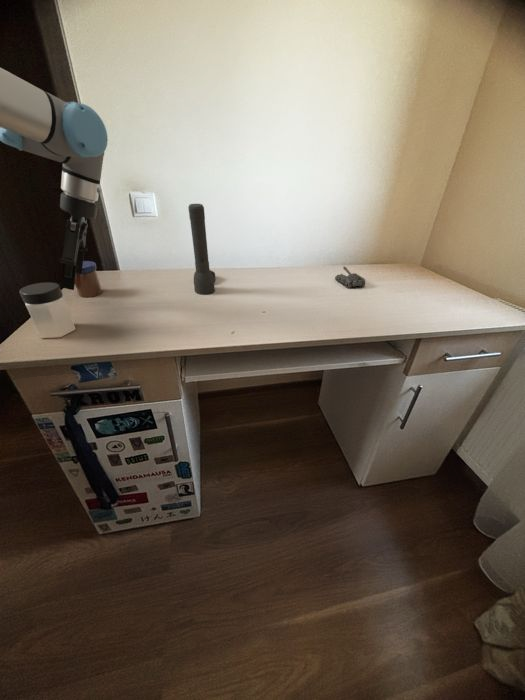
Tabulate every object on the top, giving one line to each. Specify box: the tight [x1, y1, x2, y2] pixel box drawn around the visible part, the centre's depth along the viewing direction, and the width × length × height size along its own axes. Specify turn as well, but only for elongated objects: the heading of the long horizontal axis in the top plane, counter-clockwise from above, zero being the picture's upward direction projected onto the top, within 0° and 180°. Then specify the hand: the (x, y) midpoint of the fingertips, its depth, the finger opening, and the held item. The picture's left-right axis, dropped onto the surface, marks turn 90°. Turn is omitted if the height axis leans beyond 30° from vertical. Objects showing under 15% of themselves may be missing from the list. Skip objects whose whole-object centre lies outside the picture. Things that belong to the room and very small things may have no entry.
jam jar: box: [74, 269, 103, 298], centre depth 94 cm, size 7×7×9 cm
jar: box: [18, 281, 76, 339], centre depth 72 cm, size 9×8×12 cm
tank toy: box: [334, 266, 366, 289], centre depth 113 cm, size 12×10×5 cm
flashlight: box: [187, 203, 215, 296], centre depth 93 cm, size 7×28×7 cm
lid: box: [76, 260, 98, 274], centre depth 92 cm, size 8×8×2 cm
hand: (72, 279), depth 77 cm, fingers open, 13 cm apart
